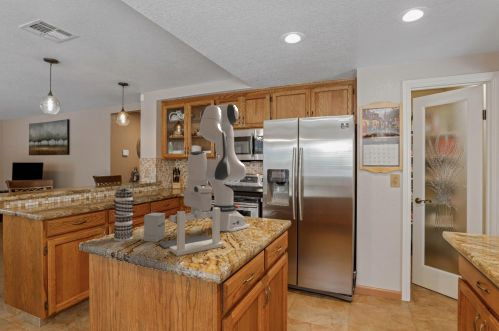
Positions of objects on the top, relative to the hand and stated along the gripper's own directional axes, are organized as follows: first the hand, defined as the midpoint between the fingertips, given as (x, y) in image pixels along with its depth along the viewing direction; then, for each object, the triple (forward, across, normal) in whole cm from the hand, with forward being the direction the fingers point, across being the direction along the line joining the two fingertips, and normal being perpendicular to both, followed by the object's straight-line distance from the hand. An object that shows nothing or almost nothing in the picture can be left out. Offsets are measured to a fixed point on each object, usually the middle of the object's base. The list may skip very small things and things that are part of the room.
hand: (196, 217), depth 119 cm
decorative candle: (+14, -33, -23) cm, 42 cm away
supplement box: (+14, -23, -11) cm, 29 cm away
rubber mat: (+13, -10, 0) cm, 17 cm away
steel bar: (0, 0, 0) cm, 0 cm away
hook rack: (+13, +1, 0) cm, 13 cm away
